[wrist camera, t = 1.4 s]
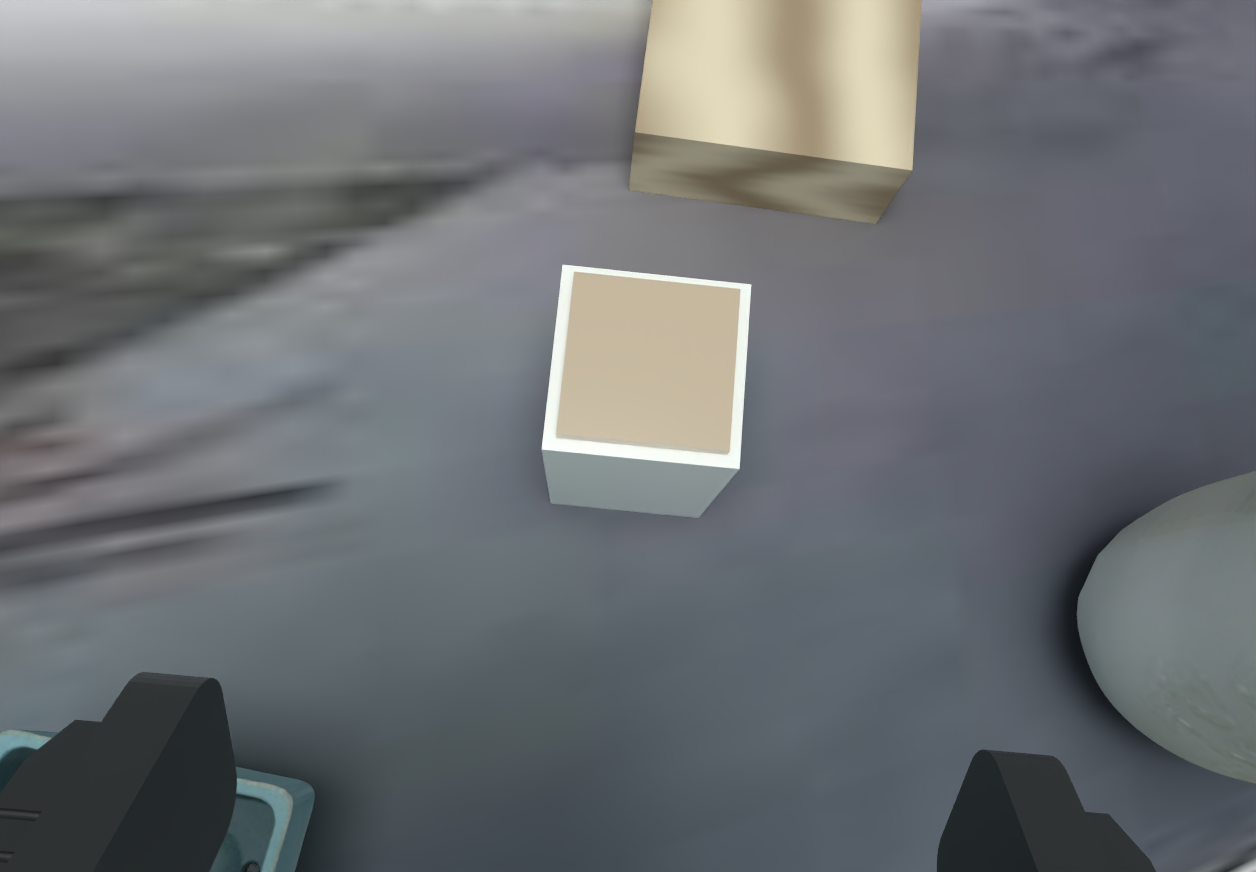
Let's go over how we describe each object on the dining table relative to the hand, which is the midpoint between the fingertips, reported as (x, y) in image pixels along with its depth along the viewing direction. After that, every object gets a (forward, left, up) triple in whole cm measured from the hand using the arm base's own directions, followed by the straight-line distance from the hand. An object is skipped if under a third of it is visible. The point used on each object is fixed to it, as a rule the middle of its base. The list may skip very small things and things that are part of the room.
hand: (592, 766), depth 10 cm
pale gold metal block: (-11, +25, -28) cm, 39 cm away
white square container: (-5, +9, -27) cm, 29 cm away
